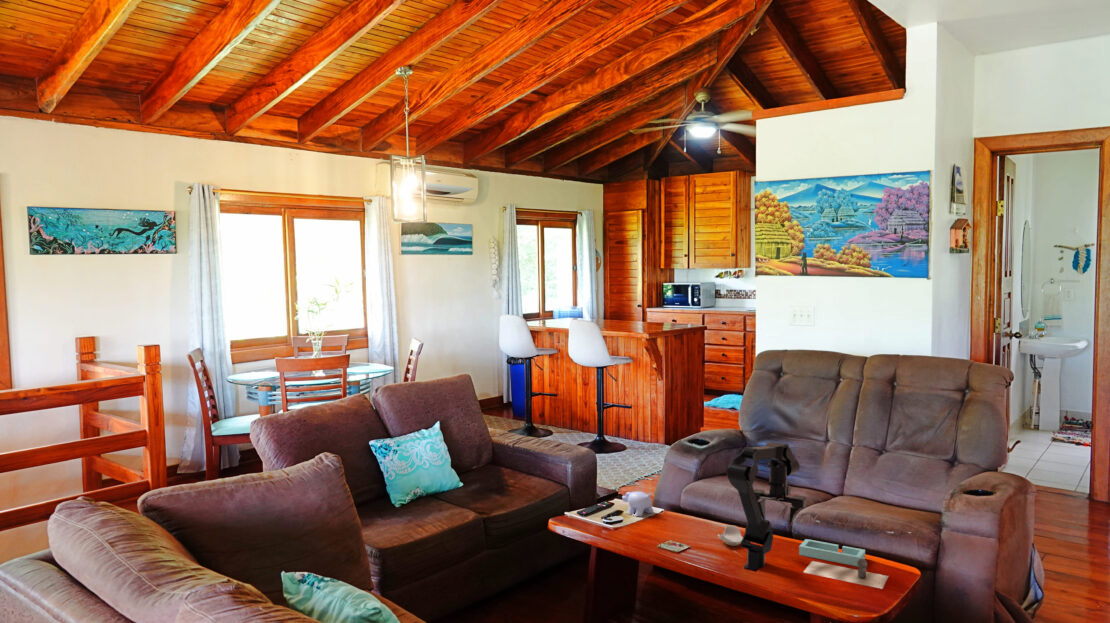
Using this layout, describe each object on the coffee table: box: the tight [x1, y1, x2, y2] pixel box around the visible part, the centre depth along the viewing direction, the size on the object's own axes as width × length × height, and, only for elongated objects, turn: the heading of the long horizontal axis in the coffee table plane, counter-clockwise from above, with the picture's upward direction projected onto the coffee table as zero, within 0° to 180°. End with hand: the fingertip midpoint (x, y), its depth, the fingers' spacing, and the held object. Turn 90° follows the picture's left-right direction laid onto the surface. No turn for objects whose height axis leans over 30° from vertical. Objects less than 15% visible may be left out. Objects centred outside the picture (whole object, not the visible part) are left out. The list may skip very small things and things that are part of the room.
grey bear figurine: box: [621, 490, 654, 517], centre depth 309 cm, size 11×15×10 cm
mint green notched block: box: [798, 538, 866, 567], centre depth 255 cm, size 20×9×4 cm, turn 57°
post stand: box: [803, 559, 889, 590], centre depth 240 cm, size 24×12×7 cm, turn 57°
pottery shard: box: [717, 524, 743, 547], centre depth 272 cm, size 10×11×5 cm
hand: (777, 522), depth 257 cm, fingers open, 9 cm apart
